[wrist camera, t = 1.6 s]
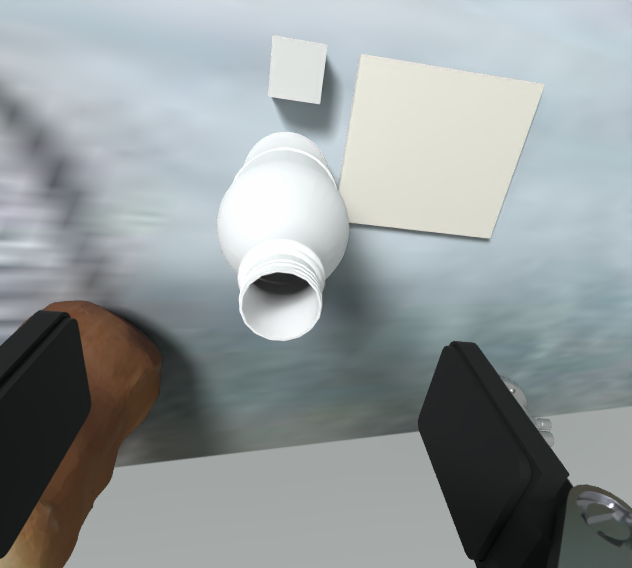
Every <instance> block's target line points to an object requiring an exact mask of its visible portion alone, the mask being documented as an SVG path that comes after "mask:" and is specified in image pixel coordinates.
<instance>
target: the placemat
mask: <svg viewBox="0 0 632 568" xmlns="http://www.w3.org/2000/svg"><path fill="white" fill-rule="evenodd" d="M544 86H545V84H540V83H534V82H528V81H522V80H516V79H510V78H504V77H498V76H492V75H486V74H480V73H474V72H468V71H462V70H456V69H450V68H444V67H438V66H432V65H426V64H420V63H414V62H408V61H401V60H395V59H389V58H383V57H377V56H371V55H365V54H360V55H359V60H358V66H357V73H356V79H355V85H354V91H353V97H352V103H351V110H350V116H349V122H348V128H347V134H346V141H345V147H344V153H343V159H342V165H341V172H340V178H339V184H338V191H339V193H340V194H341V196H342V198H343V200H344V202H345V206H346V209H347V212H348V218H349V223H358V224H367V225H376V226H384V227H393V228H402V229H410V230H419V231H428V232H437V233H445V234H454V235H463V236H471V237H480V238H489V239H490V237H491V234H492V232H493V229H494V226H495V223H496V220H497V218H498V215H499V212H500V209H501V206H502V204H503V201H504V198H505V195H506V192H507V190H508V187H509V184H510V181H511V178H512V176H513V173H514V170H515V167H516V164H517V162H518V159H519V156H520V153H521V150H522V147H523V145H524V142H525V139H526V136H527V133H528V131H529V128H530V125H531V122H532V119H533V117H534V114H535V111H536V108H537V105H538V103H539V100H540V97H541V94H542V91H543V89H544Z"/></svg>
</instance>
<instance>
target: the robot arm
mask: <svg viewBox="0 0 632 568" xmlns="http://www.w3.org/2000/svg"><path fill="white" fill-rule="evenodd" d="M527 407H528V404H527V400H526V397H525V395H524V393H523V392H522V391H521V389H520V388H519V387H518V386H517V385H516V384H515V383H514V382H512V381H510V380H508V379H506V378H503V377H500V376H499V375H498V374H497V372H496V371H495V369H494V368H493V367H492V365H491V364H490V362H489V361H488V360H487V358H486V357H485V355H484V354H483V353H482V351H481V350H480V348H479V347H478V346H477V345H476V344H475V343H473V342H460V341H453V342H451V343H450V345H449V346H445V347H444V348H443V350H442V353H441V356H440V359H439V361H438V364H437V367H436V370H435V373H434V376H433V378H432V381H431V384H430V387H429V390H428V393H427V395H426V398H425V401H424V404H423V407H422V409H421V412H420V415H419V419H418V427H419V432H420V434H421V437H422V439H423V442H424V444H425V447H426V450H427V452H428V455H429V458H430V460H431V463H432V466H433V469H434V471H435V473H436V477H437V479H438V482H439V484H440V487H441V490H442V492H443V495H444V497H445V500H446V503H447V506H448V508H449V511H450V514H451V516H452V519H453V521H454V524H455V527H456V529H457V532H458V535H459V537H460V540H461V542H462V545H463V547H464V551H465V553H466V555H467V556H468V558H469V559H471V560H474V562H475V564H476V567H477V568H632V508H631V507H630V506H629V505H628V504H626V503H625V502H624V501H623V500H621V499H620V498H618V497H616V496H615V495H613V494H612V493H610V492H608V491H606V490H603V489H601V488H599V487H595V486H591V485H577V486H575V487H573V485H572V484H571V483H570V481H569V480H568V478H567V477H568V476H569V473H568V472H567V470H566V469H565V467H564V466H563V464H562V463H561V462H560V460H559V459H558V458H557V456H556V455H555V453H554V452H553V450H552V449H551V448H550V447H552V446H553V444H554V437H553V435H552V433H550V432H548V431H538V429H539V430H550V429H551V428H552V423H551V421H550V420H549V419H534V418H533V417H531V415H530V414H529V412H528V411H527ZM90 409H91V396H90V390H89V384H88V379H87V373H86V367H85V361H84V355H83V349H82V343H81V337H80V331H79V325H78V321H77V320H76V319H74V318H71V316H70V315H69V313H67V312H61V311H47V310H39V311H38V312H36V313H35V314H34V315H33V316H32V317H31V318H30V319H28V320H27V321H26V322H25V323H24V324H23V325H22V326H21V327H20V328H19V329H18V330H17V331H16V332H15V333H14V334H13V335H11V336H10V337H9V338H8V339H7V340H6V341H5V342H4V343H3V344H2V345H1V346H0V559H2V558H3V557H5V556H6V554H7V553H8V552H9V550H10V549H11V547H12V546H13V544H14V542H15V541H16V539H17V537H18V535H19V534H20V532H21V530H22V529H23V527H24V525H25V523H26V522H27V520H28V518H29V517H30V515H31V513H32V511H33V510H34V508H35V506H36V505H37V503H38V501H39V499H40V498H41V496H42V494H43V493H44V491H45V489H46V487H47V486H48V484H49V482H50V481H51V479H52V477H53V475H54V474H55V472H56V470H57V469H58V467H59V465H60V463H61V462H62V460H63V458H64V457H65V455H66V453H67V451H68V450H69V448H70V446H71V445H72V443H73V441H74V439H75V438H76V436H77V434H78V433H79V431H80V429H81V427H82V426H83V424H84V422H85V421H86V419H87V417H88V415H89V413H90Z"/></svg>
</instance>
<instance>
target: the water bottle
mask: <svg viewBox="0 0 632 568" xmlns="http://www.w3.org/2000/svg"><path fill="white" fill-rule="evenodd" d="M217 231H218V240H219V244H220V247H221V251H222V253H223V255H224V257H225V259H226V261H227V263H228V264H229V266H230V267H231V268H232V270H233V271H234V272H235V273H236V274H237V275H238V284H239V288H240V295H239V304H240V308H239V310H240V313H241V315H242V318H243V320H244V323H245V324H246V325H247V326H248V327H249V328H250V329H251V330H252V331H253V332H254V333H255V334H258V335H260V336H262V337H264V338H267V339H269V340H280V341H286V340H290V339H294V338H298V337H300V336H302V335H303V334H305V333H306V332H308V331H309V330H311V329H312V328H313V326H314V325H315V323H316V322H317V320H318V319H319V318H320V314H321V311H322V308H323V305H322V292H323V289H324V286H325V279H326V278H328V277H329V276H330V275H331V273H332V272H333V271H334V270H335V269H336V267H337V266H338V264H339V263H340V261H341V259H342V258H343V255H344V252H345V250H346V247H347V243H348V237H349V218H348V212H347V209H346V206H345V202H344V200H343V198H342V196H341V194H340V193H339V191H338V189H337V186H336V183H335V180H334V178H333V176H332V174H331V172H330V170H329V169H328V167H327V164H326V161H325V159H324V156H323V154H322V153H321V151H320V150H319V148H318V147H317V146H316V145H315V144H314V143H313V142H312V141H311V140H309V139H308V138H306V137H305V136H302V135H300V134H297V133H293V132H277V133H274V134H270V135H268V136H266V137H264V138H263V139H261V140H260V141H259V142H258V143H257V144H256V145H255V146H254V147H253V148H252V150H251V151H250V153H249V155H248V156H247V158H246V161H245V164H244V166H243V167H242V168H241V170H240V171H239V172H238V174H237V175H236V177H235V179H234V181H233V183H232V184H231V186H230V187H229V189H228V190H227V192H226V193H225V195H224V198H223V200H222V202H221V205H220V209H219V213H218V221H217Z"/></svg>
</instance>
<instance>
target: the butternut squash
mask: <svg viewBox="0 0 632 568" xmlns="http://www.w3.org/2000/svg"><path fill="white" fill-rule="evenodd" d="M43 310H47V311H61V312H67V313H69V315H70V316H71V318H74V319H76V320H77V321H78V325H79V331H80V337H81V343H82V349H83V355H84V361H85V367H86V373H87V379H88V384H89V390H90V396H91V409H90V413H89V415H88V417H87V419H86V421H85V422H84V424H83V426H82V427H81V429H80V431H79V433H78V434H77V436H76V438H75V439H74V441H73V443H72V445H71V446H70V448H69V450H68V451H67V453H66V455H65V457H64V458H63V460H62V462H61V463H60V465H59V467H58V469H57V470H56V472H55V474H54V475H53V477H52V479H51V481H50V482H49V484H48V486H47V487H46V489H45V491H44V493H43V494H42V496H41V498H40V499H39V501H38V503H37V505H36V506H35V508H34V510H33V511H32V513H31V515H30V517H29V518H28V520H27V522H26V523H25V525H24V527H23V529H22V530H21V532H20V534H19V535H18V537H17V539H16V541H15V542H14V544H13V546H12V547H11V549H10V550H9V552H8V553H7V554H6V556H5V557H3V558H2V559H0V568H63V567H64V565H65V564H66V562H67V561H68V559H69V557H70V556H71V554H72V552H73V550H74V547H75V545H76V542H77V539H78V534H79V531H80V529H81V526H82V525H83V523H84V521H85V519H86V517H87V515H88V513H89V511H90V510H91V509H92V508H93V503H94V501H95V499H96V498H97V497H98V495H99V494H100V493H101V492H102V491H103V490H104V489H105V487H106V486H107V485H108V483H109V482H110V480H111V477H112V474H113V470H114V465H115V461H116V457H117V453H118V449H119V447H120V445H121V443H122V442H123V440H124V439H125V438H126V437H127V436H128V435H129V434H130V433H132V432H133V431H134V430H135V429H136V428H137V427H138V426H139V425H140V424H141V423H142V422H143V420H144V419H145V418H146V417H147V415H148V413H149V412H150V410H151V408H152V407H153V405H154V403H155V401H156V400H157V398H158V396H159V393H160V382H161V366H162V360H163V359H162V356H161V353H160V351H159V350H158V348H157V347H156V345H155V344H154V342H153V341H152V340H151V339H150V338H149V337H148V336H147V335H145V334H144V333H143V332H141V331H140V330H139V329H137V328H136V327H135V326H134V325H132V324H131V323H130V322H128V321H127V320H125V319H123V318H122V317H120V316H118V315H116V314H114V313H112V312H110V311H108V310H106V309H104V308H102V307H100V306H98V305H96V304H93V303H91V302H88V301H63V302H55V303H52V304H50V305H48V306H47V307H46V308H44V309H43ZM31 317H32V316H31ZM31 317H30V318H31ZM30 318H29V319H30ZM26 321H27V320H26ZM26 321H25V322H26ZM25 322H24V323H25ZM24 323H23V324H24ZM23 324H22V325H23ZM22 325H21V326H22ZM21 326H20V327H21ZM20 327H19V328H20ZM19 328H18V329H19Z"/></svg>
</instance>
